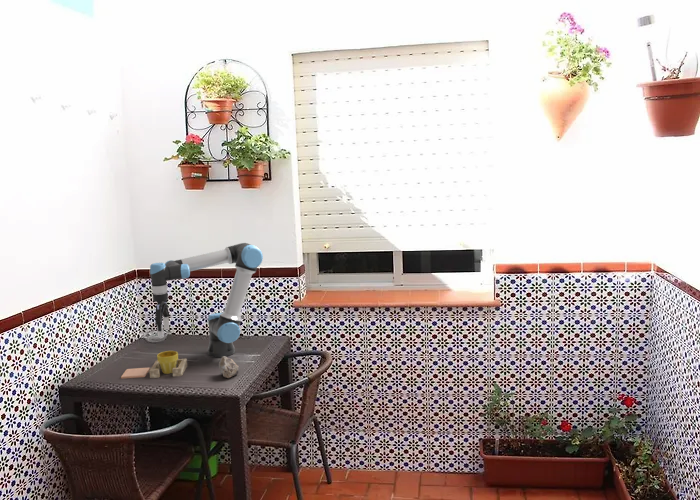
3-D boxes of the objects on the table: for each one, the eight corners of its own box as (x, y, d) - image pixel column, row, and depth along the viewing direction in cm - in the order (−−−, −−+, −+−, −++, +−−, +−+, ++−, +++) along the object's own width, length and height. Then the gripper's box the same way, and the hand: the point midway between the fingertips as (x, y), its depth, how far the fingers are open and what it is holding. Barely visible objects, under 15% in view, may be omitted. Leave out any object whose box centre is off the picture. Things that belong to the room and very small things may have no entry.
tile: (150, 369, 349) (150, 367, 349) (144, 377, 337) (144, 375, 337) (127, 370, 348) (127, 368, 348) (121, 378, 336) (120, 376, 336)
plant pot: (173, 375, 338) (172, 357, 336) (155, 374, 340) (153, 356, 338) (182, 368, 348) (181, 350, 346) (164, 368, 350) (162, 350, 348)
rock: (226, 385, 328) (238, 370, 327) (209, 370, 329) (221, 355, 328) (232, 381, 337) (244, 366, 336) (215, 366, 338) (226, 351, 337)
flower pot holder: (187, 365, 352) (186, 358, 351) (181, 376, 336) (181, 368, 336) (156, 367, 351) (156, 360, 350) (150, 378, 335) (149, 370, 335)
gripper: (158, 288, 349) (162, 326, 353) (146, 299, 325) (150, 340, 328) (172, 287, 350) (176, 326, 353) (161, 298, 325) (165, 339, 329)
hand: (163, 333), depth 341 cm, fingers open, 13 cm apart
